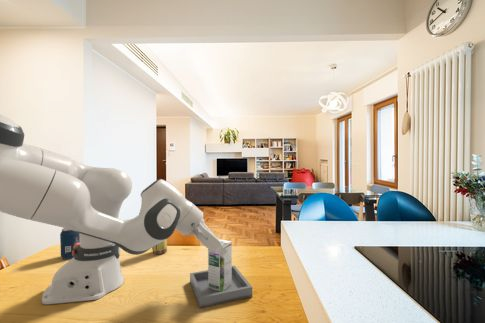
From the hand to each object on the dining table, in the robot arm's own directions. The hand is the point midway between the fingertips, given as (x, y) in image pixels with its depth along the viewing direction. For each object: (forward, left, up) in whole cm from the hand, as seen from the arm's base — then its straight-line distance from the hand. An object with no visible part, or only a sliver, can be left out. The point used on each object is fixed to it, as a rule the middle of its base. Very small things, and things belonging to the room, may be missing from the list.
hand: (220, 247), depth 83 cm
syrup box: (0, 0, -13) cm, 13 cm away
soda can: (-51, +48, -14) cm, 72 cm away
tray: (0, 0, -13) cm, 13 cm away
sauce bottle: (-16, +39, -14) cm, 44 cm away
